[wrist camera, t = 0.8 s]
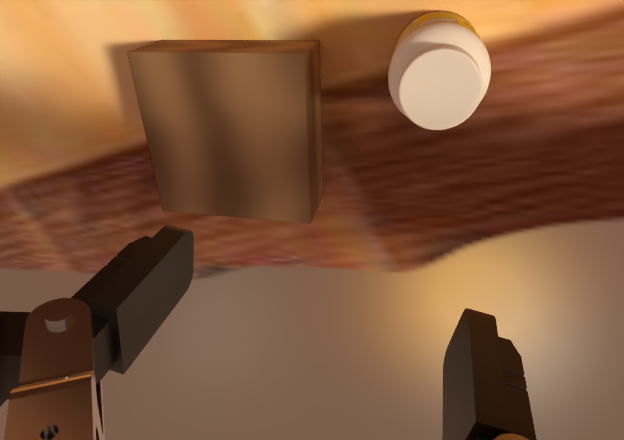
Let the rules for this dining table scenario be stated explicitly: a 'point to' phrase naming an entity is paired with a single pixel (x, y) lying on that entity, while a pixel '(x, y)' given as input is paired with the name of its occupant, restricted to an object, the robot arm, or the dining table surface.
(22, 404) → the robot arm
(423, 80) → the supplement bottle
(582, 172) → the dining table surface
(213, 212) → the walnut plinth block
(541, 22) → the dining table surface
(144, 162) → the dining table surface
